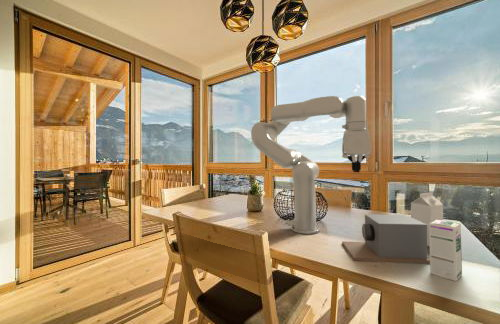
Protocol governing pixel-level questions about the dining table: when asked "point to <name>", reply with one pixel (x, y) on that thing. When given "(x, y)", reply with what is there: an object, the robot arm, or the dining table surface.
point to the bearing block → (392, 240)
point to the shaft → (368, 232)
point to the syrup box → (445, 249)
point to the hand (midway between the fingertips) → (356, 171)
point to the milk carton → (427, 210)
